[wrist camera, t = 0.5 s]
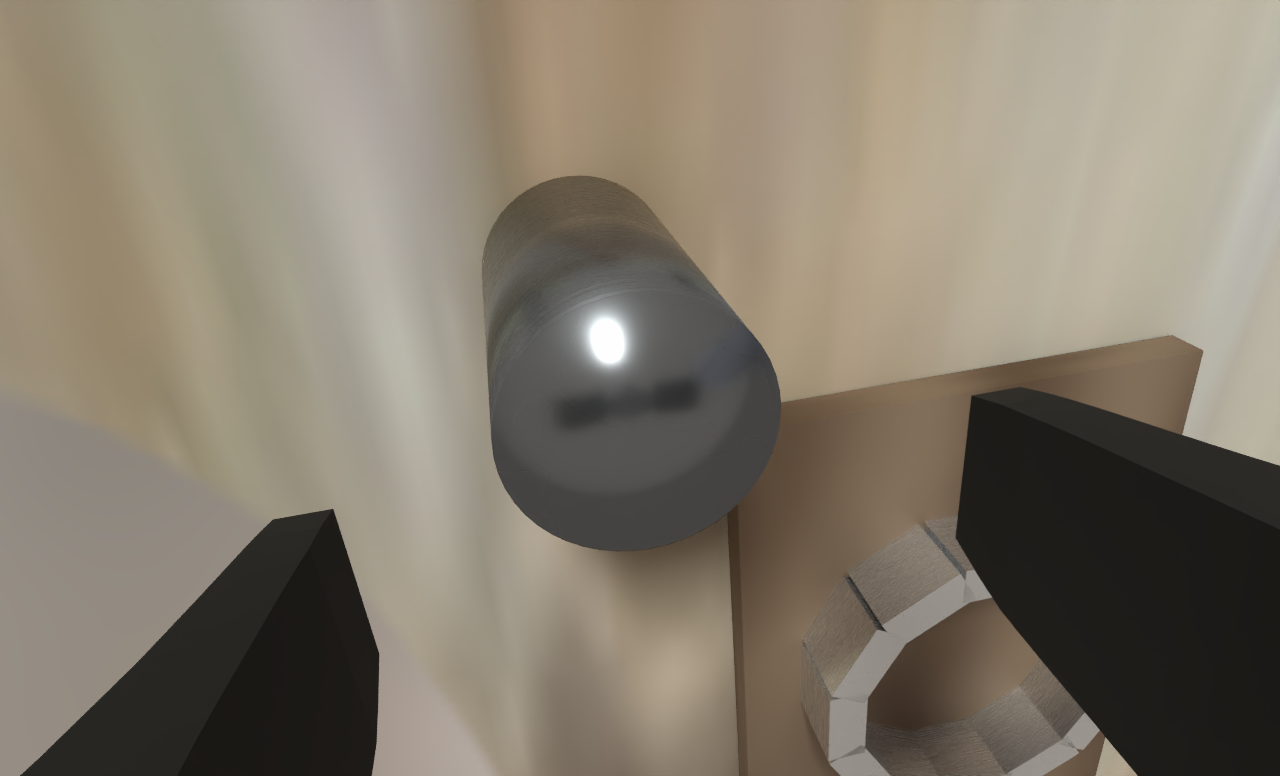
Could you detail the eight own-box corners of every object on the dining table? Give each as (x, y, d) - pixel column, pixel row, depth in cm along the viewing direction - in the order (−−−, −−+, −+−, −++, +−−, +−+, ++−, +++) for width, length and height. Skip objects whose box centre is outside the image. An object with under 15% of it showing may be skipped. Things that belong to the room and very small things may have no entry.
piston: (663, 164, 17) (779, 270, 10) (676, 342, 18) (782, 523, 12) (465, 189, 16) (465, 318, 10) (498, 370, 18) (517, 574, 12)
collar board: (1172, 335, 21) (1274, 386, 18) (1074, 756, 28) (1137, 835, 26) (722, 412, 19) (763, 480, 17) (742, 836, 27) (772, 929, 24)
